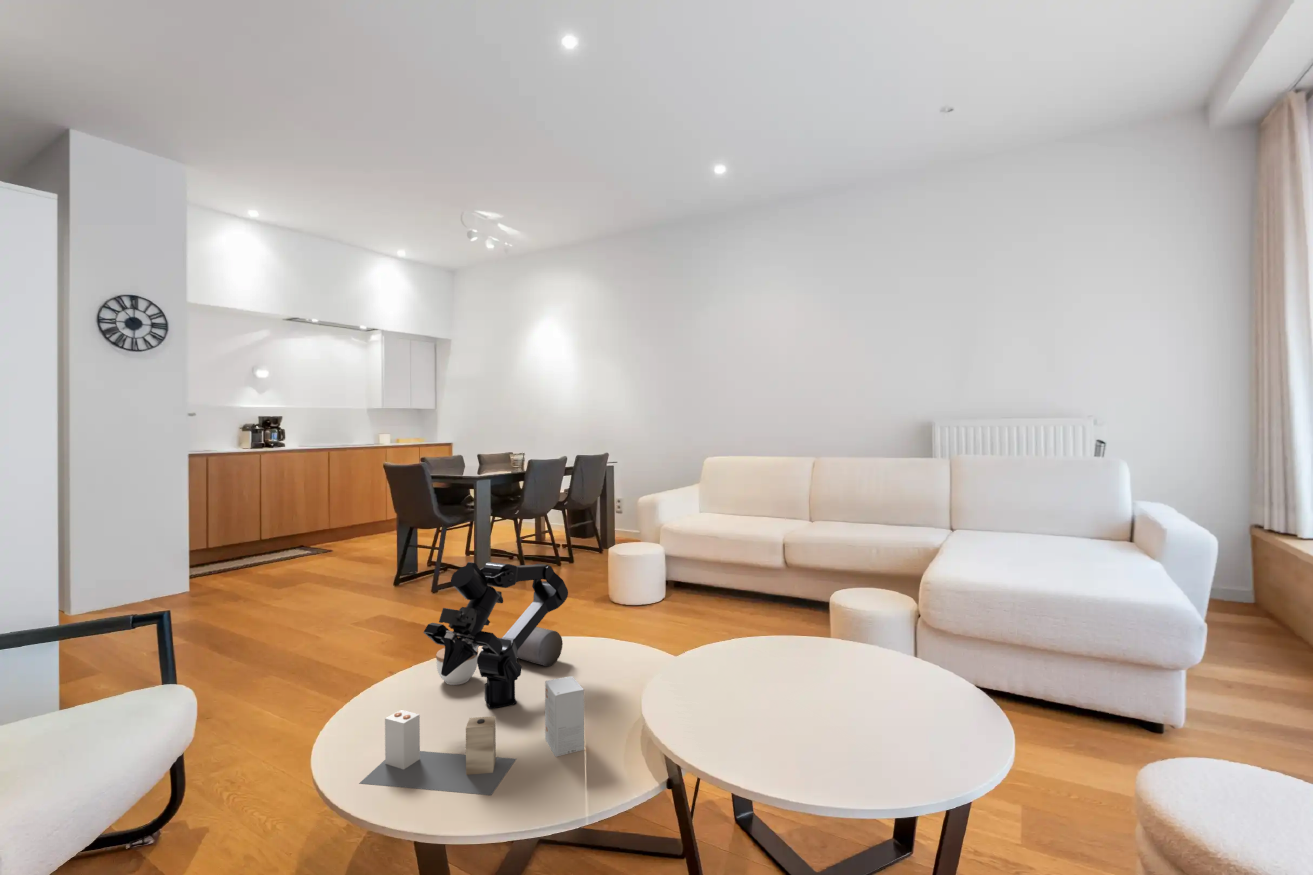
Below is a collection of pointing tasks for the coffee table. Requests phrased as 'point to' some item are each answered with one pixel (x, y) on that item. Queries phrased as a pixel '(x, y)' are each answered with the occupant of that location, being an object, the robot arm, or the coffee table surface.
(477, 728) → the tile one
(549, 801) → the coffee table surface
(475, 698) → the coffee table surface
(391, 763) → the tile two
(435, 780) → the mat
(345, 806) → the coffee table surface
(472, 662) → the lidded jar
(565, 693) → the small box
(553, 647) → the pillar candle
